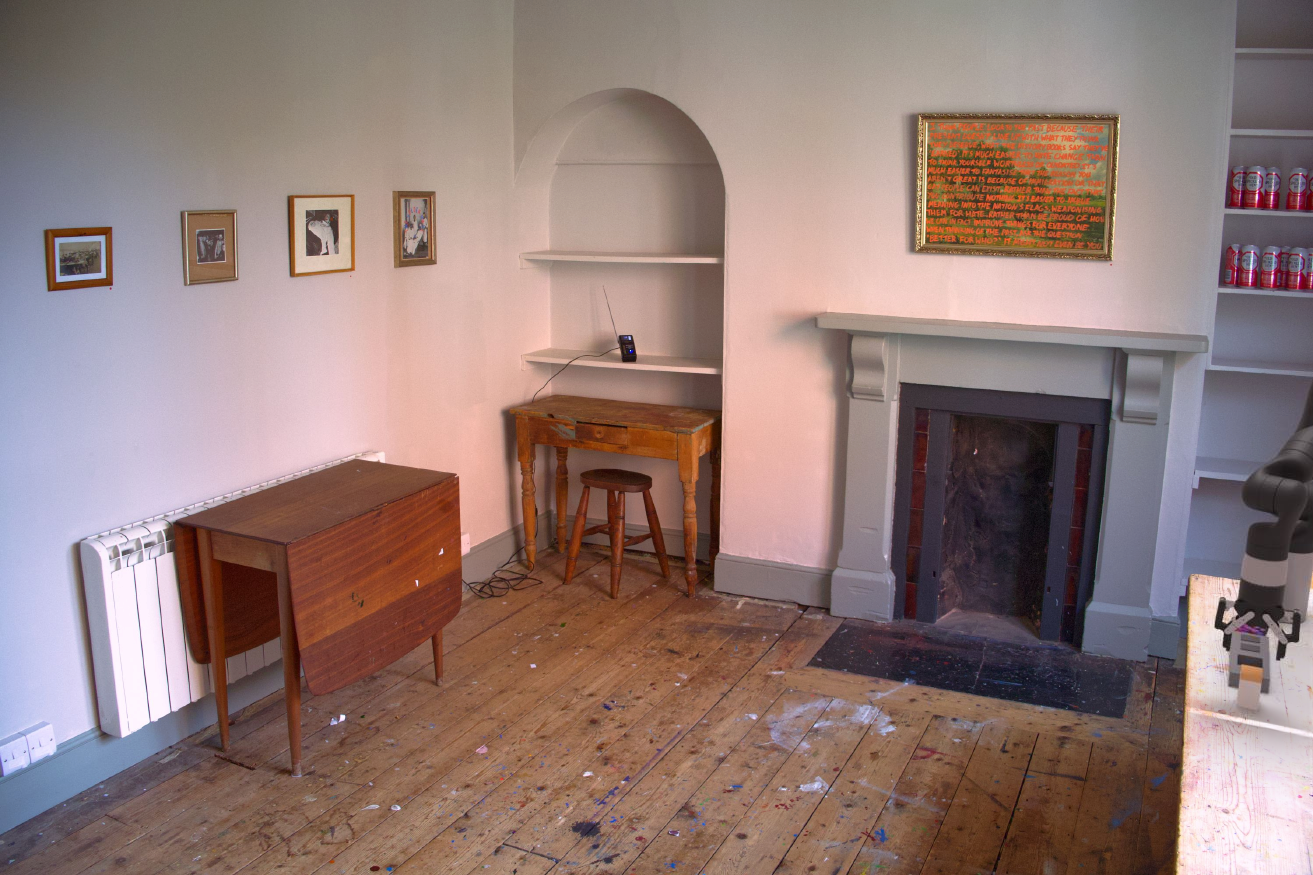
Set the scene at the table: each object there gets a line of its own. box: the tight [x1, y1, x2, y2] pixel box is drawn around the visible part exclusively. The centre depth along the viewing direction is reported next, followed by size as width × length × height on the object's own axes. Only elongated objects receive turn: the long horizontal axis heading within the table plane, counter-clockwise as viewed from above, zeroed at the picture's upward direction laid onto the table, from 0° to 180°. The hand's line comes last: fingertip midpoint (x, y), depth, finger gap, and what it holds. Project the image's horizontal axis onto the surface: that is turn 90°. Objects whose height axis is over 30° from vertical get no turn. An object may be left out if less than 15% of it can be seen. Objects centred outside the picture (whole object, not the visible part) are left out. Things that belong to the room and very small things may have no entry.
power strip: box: [1228, 631, 1271, 694], centre depth 219 cm, size 22×7×5 cm, turn 151°
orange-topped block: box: [1236, 665, 1262, 711], centre depth 204 cm, size 4×4×8 cm
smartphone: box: [1230, 616, 1269, 636], centre depth 238 cm, size 8×1×15 cm
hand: (1252, 654), depth 203 cm, fingers open, 8 cm apart
